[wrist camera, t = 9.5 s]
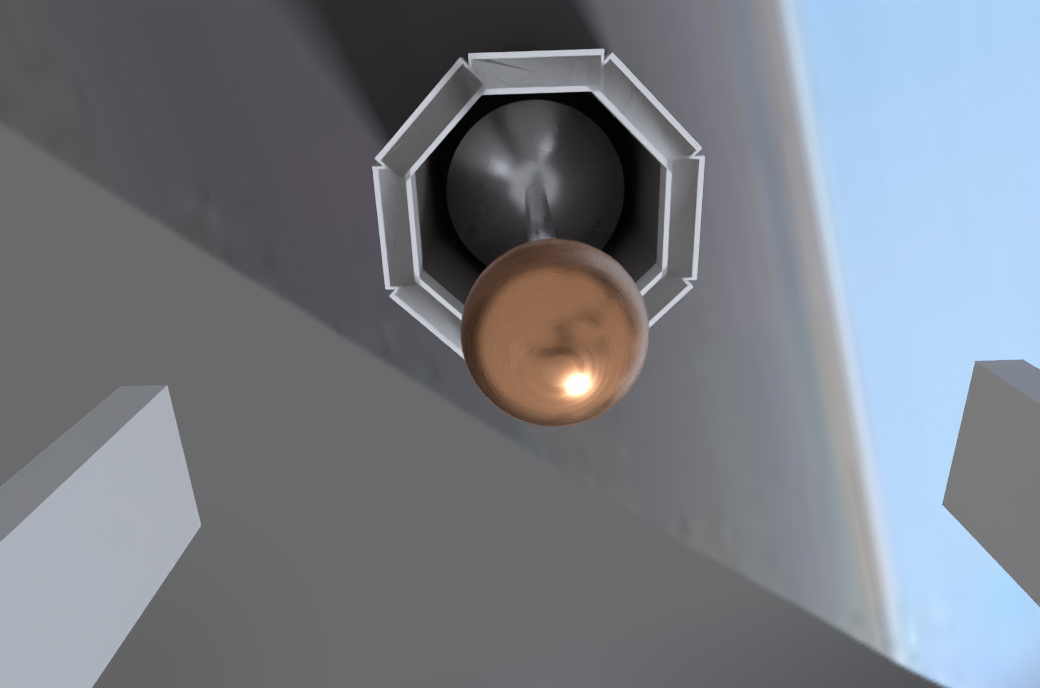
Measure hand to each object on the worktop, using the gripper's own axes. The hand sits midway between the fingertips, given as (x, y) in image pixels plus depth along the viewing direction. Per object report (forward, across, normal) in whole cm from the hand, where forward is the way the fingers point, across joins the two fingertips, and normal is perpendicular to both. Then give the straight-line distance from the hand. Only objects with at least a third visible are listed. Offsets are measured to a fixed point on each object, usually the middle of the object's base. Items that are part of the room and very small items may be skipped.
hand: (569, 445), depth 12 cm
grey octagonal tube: (+31, 0, -2) cm, 31 cm away
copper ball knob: (+24, 0, 0) cm, 24 cm away
